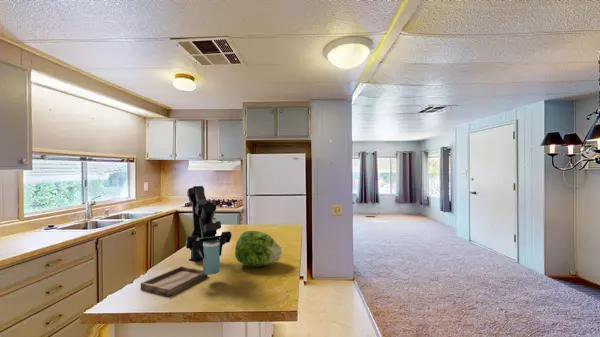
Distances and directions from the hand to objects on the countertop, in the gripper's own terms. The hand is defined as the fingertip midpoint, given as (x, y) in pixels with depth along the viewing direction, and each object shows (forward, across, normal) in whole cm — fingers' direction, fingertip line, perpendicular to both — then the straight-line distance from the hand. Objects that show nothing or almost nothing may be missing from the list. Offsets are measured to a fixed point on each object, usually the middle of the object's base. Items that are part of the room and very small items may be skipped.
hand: (212, 256), depth 107 cm
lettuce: (+1, +25, +15) cm, 29 cm away
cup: (+4, 0, +6) cm, 7 cm away
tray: (+2, -13, +14) cm, 20 cm away
